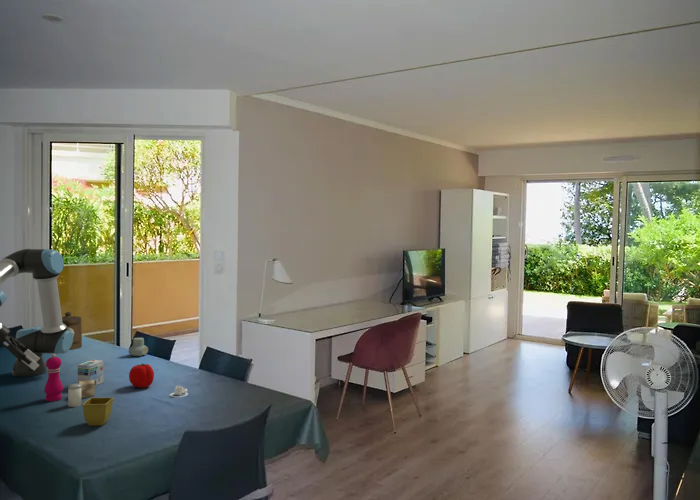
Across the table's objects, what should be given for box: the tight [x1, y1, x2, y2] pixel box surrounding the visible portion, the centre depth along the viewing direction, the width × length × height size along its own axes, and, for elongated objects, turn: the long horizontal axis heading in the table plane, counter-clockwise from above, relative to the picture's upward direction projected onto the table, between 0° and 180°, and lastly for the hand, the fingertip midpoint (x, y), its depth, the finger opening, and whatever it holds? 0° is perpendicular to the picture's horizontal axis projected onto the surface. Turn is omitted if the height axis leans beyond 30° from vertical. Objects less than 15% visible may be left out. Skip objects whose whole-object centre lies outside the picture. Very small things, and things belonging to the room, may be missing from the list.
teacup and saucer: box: [169, 385, 189, 398], centre depth 254 cm, size 9×8×4 cm
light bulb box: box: [77, 359, 105, 387], centre depth 266 cm, size 11×7×11 cm, turn 168°
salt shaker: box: [67, 382, 82, 408], centre depth 236 cm, size 5×5×8 cm
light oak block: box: [79, 380, 96, 399], centre depth 250 cm, size 6×6×6 cm
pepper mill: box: [43, 354, 64, 402], centre depth 243 cm, size 7×7×20 cm
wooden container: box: [62, 311, 83, 350], centre depth 344 cm, size 15×15×22 cm
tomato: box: [128, 363, 155, 389], centre depth 265 cm, size 12×12×11 cm
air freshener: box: [128, 337, 149, 357], centre depth 327 cm, size 11×8×10 cm
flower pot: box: [81, 397, 114, 427], centre depth 215 cm, size 9×9×9 cm
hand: (37, 364), depth 239 cm, fingers open, 13 cm apart
